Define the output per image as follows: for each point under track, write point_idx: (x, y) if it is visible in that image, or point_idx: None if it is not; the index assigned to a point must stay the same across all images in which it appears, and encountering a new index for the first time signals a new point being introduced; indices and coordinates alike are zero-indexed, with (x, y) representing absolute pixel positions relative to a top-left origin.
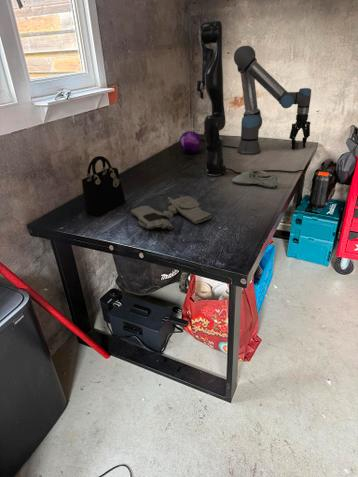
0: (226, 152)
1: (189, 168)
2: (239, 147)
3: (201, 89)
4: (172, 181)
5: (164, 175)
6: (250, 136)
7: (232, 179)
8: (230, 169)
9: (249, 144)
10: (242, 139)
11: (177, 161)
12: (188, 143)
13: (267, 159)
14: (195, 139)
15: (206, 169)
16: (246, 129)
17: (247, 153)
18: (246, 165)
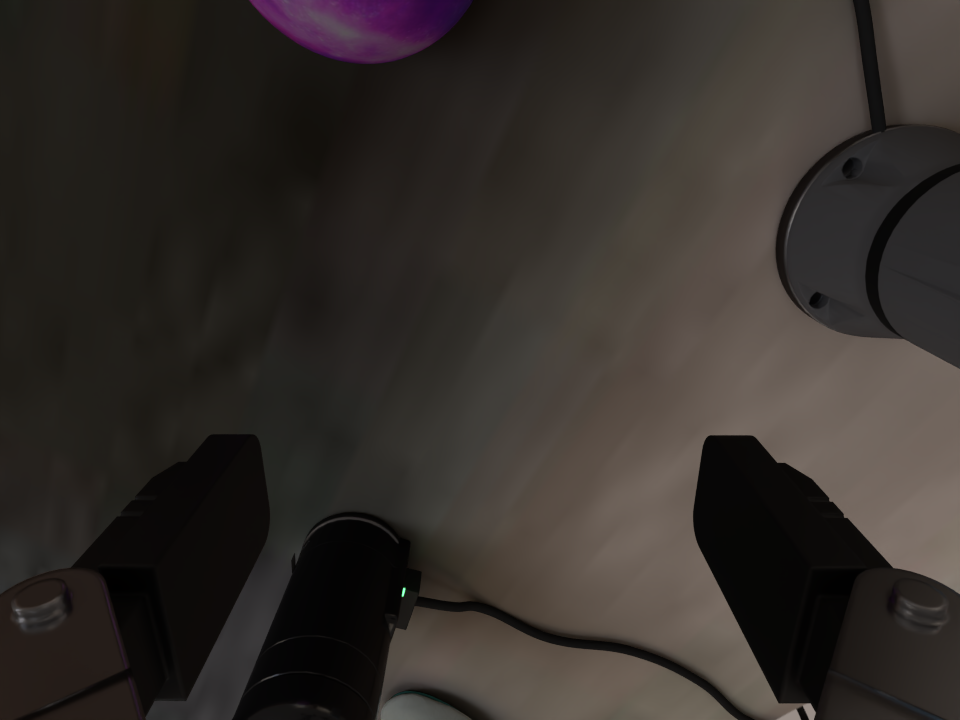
0: (704, 136)
1: (233, 384)
2: (811, 226)
3: (45, 704)
4: (71, 547)
5: (29, 432)
6: (929, 352)
7: (383, 712)
8: (443, 609)
9: (870, 326)
10: (872, 265)
11: (181, 161)
12: (291, 38)
13: (827, 477)
14: (379, 40)
15: (293, 568)
16: (954, 349)
17: (804, 312)
18: (620, 513)
